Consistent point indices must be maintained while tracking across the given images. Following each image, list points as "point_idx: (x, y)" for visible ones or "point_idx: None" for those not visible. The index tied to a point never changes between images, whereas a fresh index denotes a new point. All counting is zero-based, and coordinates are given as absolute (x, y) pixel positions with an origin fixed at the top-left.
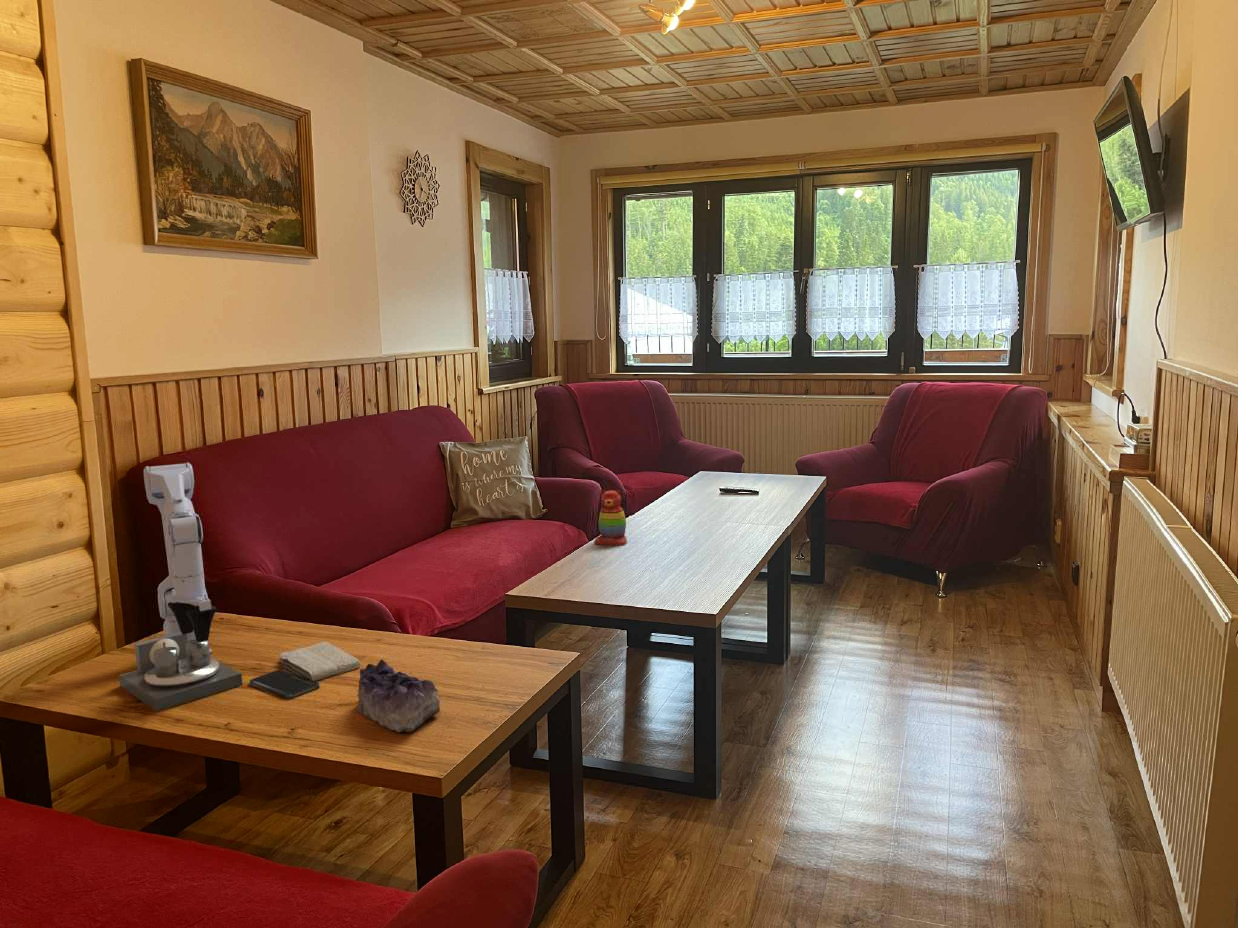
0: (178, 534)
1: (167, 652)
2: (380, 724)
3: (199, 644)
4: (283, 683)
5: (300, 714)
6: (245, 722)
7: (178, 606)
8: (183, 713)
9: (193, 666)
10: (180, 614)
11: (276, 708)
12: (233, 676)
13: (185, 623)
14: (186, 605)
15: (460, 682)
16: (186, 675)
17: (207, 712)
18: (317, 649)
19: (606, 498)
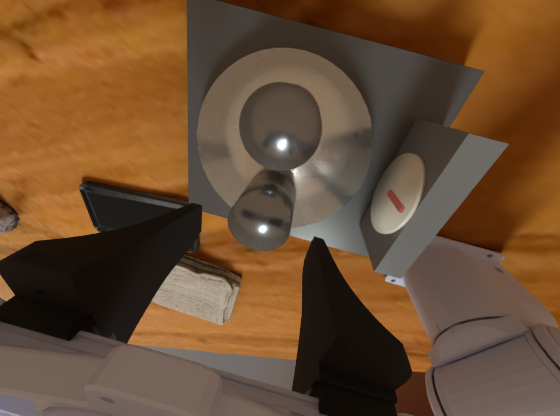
0: None
1: (251, 119)
2: None
3: (232, 214)
4: (140, 217)
5: (11, 147)
6: (20, 76)
7: (320, 344)
8: (145, 37)
9: (258, 174)
10: (318, 301)
11: (57, 148)
12: (189, 193)
13: (311, 273)
14: (306, 359)
15: None
16: (233, 133)
17: (115, 72)
18: (199, 305)
19: None
